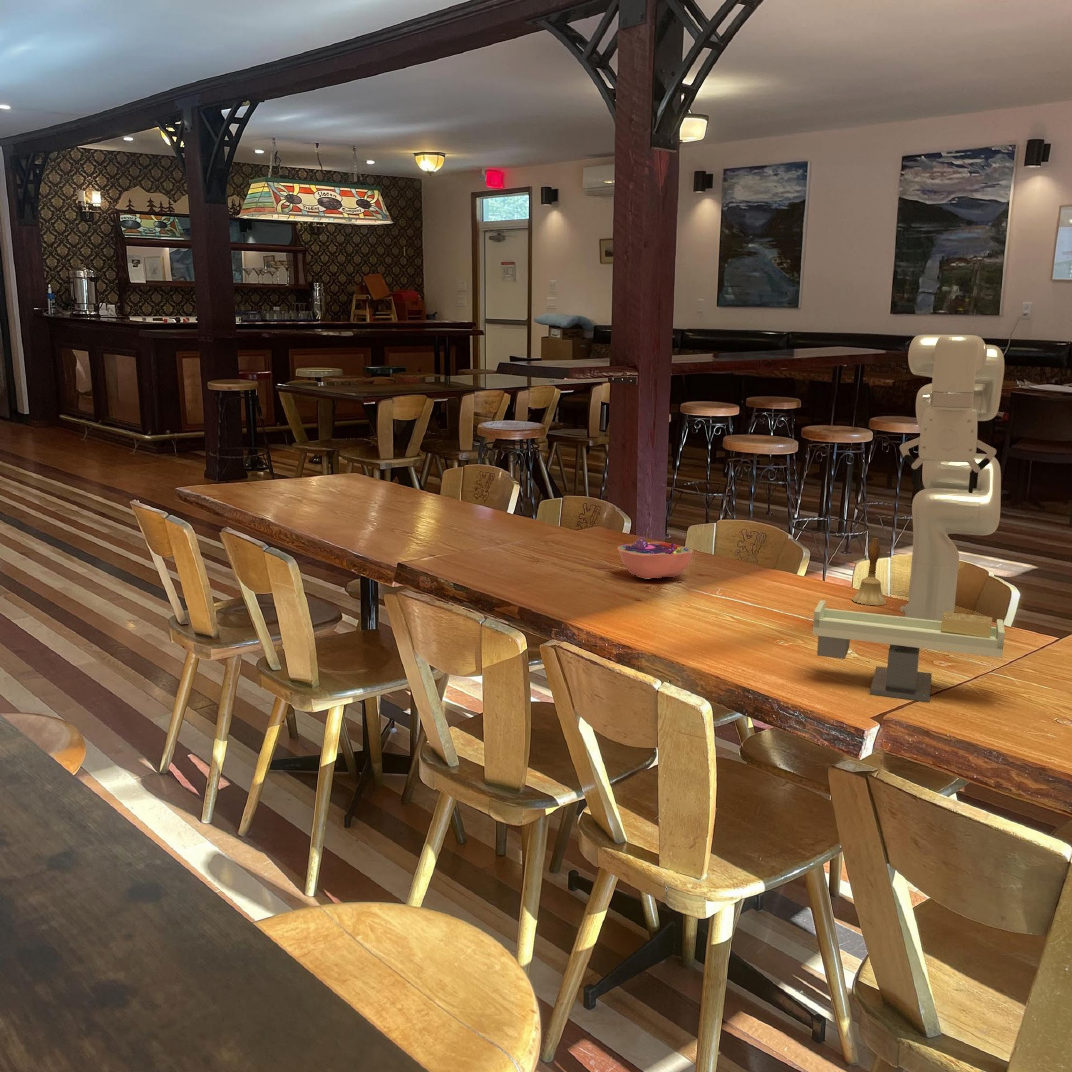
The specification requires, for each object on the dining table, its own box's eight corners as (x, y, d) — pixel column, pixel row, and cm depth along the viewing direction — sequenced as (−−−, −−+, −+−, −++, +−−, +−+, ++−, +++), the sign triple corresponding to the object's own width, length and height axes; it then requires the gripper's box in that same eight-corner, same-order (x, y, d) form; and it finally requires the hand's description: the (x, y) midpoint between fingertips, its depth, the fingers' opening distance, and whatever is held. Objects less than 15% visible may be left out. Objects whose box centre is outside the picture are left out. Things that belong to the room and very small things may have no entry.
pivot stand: (870, 694, 181) (873, 651, 180) (875, 671, 194) (879, 631, 192) (929, 702, 177) (933, 658, 176) (931, 678, 190) (935, 637, 189)
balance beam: (811, 655, 187) (814, 611, 185) (817, 642, 195) (820, 600, 193) (999, 679, 175) (1004, 632, 173) (997, 664, 183) (1002, 619, 181)
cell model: (696, 587, 259) (698, 544, 257) (618, 585, 259) (619, 542, 257) (687, 572, 275) (689, 531, 273) (614, 570, 276) (616, 530, 273)
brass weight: (939, 639, 179) (942, 618, 178) (942, 632, 183) (944, 611, 182) (988, 646, 175) (991, 624, 175) (990, 638, 180) (992, 617, 179)
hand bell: (879, 597, 250) (884, 534, 247) (892, 606, 242) (897, 541, 239) (846, 597, 250) (851, 534, 247) (858, 606, 242) (863, 541, 239)
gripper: (902, 401, 191) (895, 490, 194) (1002, 404, 185) (992, 496, 188) (904, 399, 198) (897, 485, 201) (1000, 402, 191) (991, 491, 195)
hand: (943, 490), depth 195 cm, fingers open, 9 cm apart
